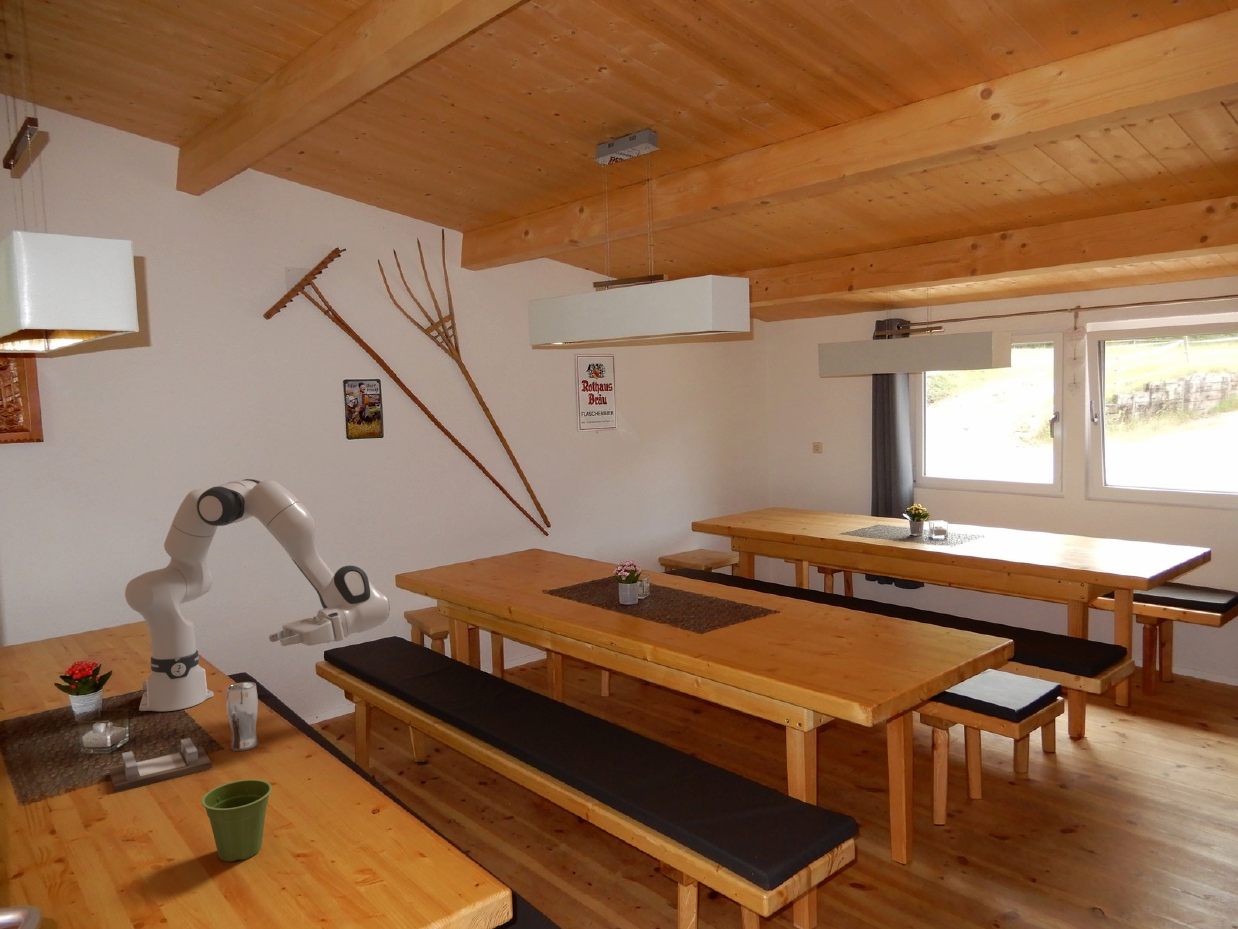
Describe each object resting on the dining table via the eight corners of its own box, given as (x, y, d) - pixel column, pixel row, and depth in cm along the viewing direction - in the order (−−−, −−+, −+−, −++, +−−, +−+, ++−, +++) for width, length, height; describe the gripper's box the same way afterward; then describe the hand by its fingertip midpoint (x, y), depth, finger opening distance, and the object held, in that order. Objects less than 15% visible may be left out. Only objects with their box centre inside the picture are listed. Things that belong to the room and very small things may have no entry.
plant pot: (191, 870, 147) (187, 808, 146) (226, 836, 158) (222, 779, 158) (256, 870, 146) (252, 808, 145) (286, 836, 158) (283, 778, 157)
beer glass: (248, 753, 198) (244, 691, 197) (222, 751, 199) (219, 690, 198) (266, 741, 205) (263, 682, 204) (241, 740, 206) (238, 681, 205)
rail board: (109, 774, 188) (108, 754, 187) (201, 752, 199) (200, 733, 199) (115, 792, 178) (113, 772, 178) (211, 768, 189) (210, 749, 189)
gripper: (314, 609, 223) (261, 625, 215) (341, 616, 207) (285, 632, 199) (318, 632, 224) (266, 648, 215) (345, 640, 208) (290, 658, 199)
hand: (275, 641), depth 207 cm, fingers open, 8 cm apart
